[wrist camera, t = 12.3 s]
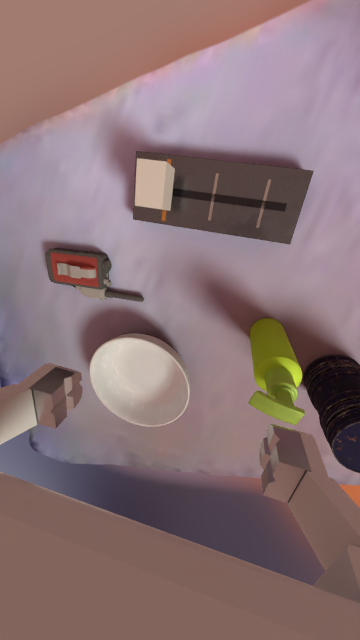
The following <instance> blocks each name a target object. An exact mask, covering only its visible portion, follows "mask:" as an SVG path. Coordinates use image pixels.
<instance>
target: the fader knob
mask: <svg viewBox="0 0 360 640" xmlns="http://www.w3.org/2000/svg"><path fill="white" fill-rule="evenodd" d="M174 173H175V168H173V167H172V166H171V165H170V164H169V163H168V162H166V161H157V160H148V159H140V158H137V168H136V189H135V206H141V207H148V208H155V209H161V210H168V211H170V210H171V201H172V192H173V182H174Z"/></svg>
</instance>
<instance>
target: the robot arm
mask: <svg viewBox="0 0 360 640" xmlns="http://www.w3.org/2000/svg"><path fill="white" fill-rule="evenodd" d="M81 380H82V377H81V373H80V372H78V371H75V370H72V369H68V368H65V367H62V366H57V365H54V364H51V363H48V364H45V365H44V366H42V367H41V368H39V369H38V370H37V371H35V372H34V373H33V374H31V375H30V376H29V377H27V378H26V379H24V380H23V381H22V382H20V383H19V384H18V385H15V384H13V385H9V386H6V387H3V388H0V444H2V443H4V442H6V441H8V440H9V439H11V438H13V437H15V436H17V435H19V434H21V433H23V432H24V431H26V430H28V429H30V428H32V427H34V426H36V425H37V423H38V424H41V425H45V426H48V427H52V428H55V429H56V428H57V427H58V426H59V425H60V424H61V423H62V421H63V420H64V419H65V418H66V417H67V411H69V410H71V409H74V408H75V407H76V405H77V404H78V403H79V401H80V399H81V396H82V386H81V385H80V383H79V382H80V381H81ZM260 465H261V466H262V468H263V469H264V471H263V473H262V476H261V478H262V488H263V495H265V496H268V497H271V498H274V499H276V500H279V501H282V502H285V503H288V507H289V508H290V510H291V511H292V513H293V515H294V517H295V519H296V520H297V522H298V524H299V526H300V528H301V529H302V531H303V533H304V535H305V536H306V538H307V540H308V542H309V543H310V545H311V547H312V548H313V550H314V552H315V554H316V555H317V557H318V559H319V561H320V562H321V564H322V566H323V568H324V570H325V571H326V572H325V573H324V574H323V575H322V576H321V578H320V579H319V580H318V581H317V582H316V584H314V586H311V585H308V584H306V583H303V582H300V581H297V580H294V579H292V578H289V577H286V576H284V575H281V574H278V573H276V572H273V571H270V570H267V569H265V568H262V567H259V566H256V565H254V564H251V563H248V562H245V561H243V560H240V559H237V558H235V557H232V556H229V555H226V554H224V553H221V552H218V551H215V550H213V549H210V548H207V547H204V546H202V545H199V544H196V543H194V542H191V541H188V540H185V539H183V538H180V537H177V536H175V535H172V534H169V533H166V532H164V531H161V530H158V529H156V528H153V527H150V526H147V525H145V524H142V523H139V522H136V521H134V520H131V519H128V518H126V517H123V516H120V515H117V514H115V513H112V512H109V511H106V510H104V509H101V508H98V507H95V506H92V505H90V504H87V503H84V502H82V501H79V500H76V499H74V498H71V497H68V496H65V495H63V494H60V493H57V492H54V491H51V490H49V489H46V488H43V487H40V486H38V485H35V484H32V483H30V482H27V481H24V480H21V479H19V478H16V477H13V476H11V475H7V474H5V473H2V472H0V640H360V508H359V507H358V506H357V505H356V504H355V502H354V501H353V500H352V499H351V498H350V497H349V496H348V495H347V494H346V492H345V491H344V490H343V489H342V488H341V487H340V486H339V485H338V484H337V482H336V481H335V480H334V479H332V478H329V477H328V474H327V471H326V469H325V466H324V463H323V460H322V458H321V455H320V452H319V449H318V447H317V444H316V441H315V439H314V437H313V436H312V435H311V434H307V433H303V432H299V431H295V430H291V429H288V428H284V427H280V426H276V425H273V424H270V425H269V426H268V429H267V437H266V438H264V439H263V441H262V444H261V448H260Z"/></svg>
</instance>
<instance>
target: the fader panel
mask: <svg viewBox="0 0 360 640" xmlns="http://www.w3.org/2000/svg"><path fill="white" fill-rule="evenodd" d="M137 158H140V159H148V160H157V161H166V162H168V163H169V164H170V165H171V166H172V167H173V168H175V173H174V182H173V192H172V201H171V210H170V211H168V210H161V209H155V208H148V207H141V206H135V190H134V212H133V219H134V220H140V221H147V222H153V223H159V224H165V225H172V226H178V227H184V228H191V229H197V230H203V231H209V232H216V233H222V234H228V235H235V236H241V237H247V238H253V239H260V240H266V241H272V242H279V243H285V244H290V243H291V239H292V236H293V233H294V230H295V227H296V224H297V221H298V218H299V215H300V211H301V208H302V205H303V202H304V199H305V196H306V193H307V190H308V186H309V183H310V180H311V177H312V174H313V171H311V170H302V169H293V168H284V167H275V166H266V165H257V164H248V163H239V162H230V161H221V160H212V159H203V158H194V157H185V156H176V155H167V154H158V153H149V152H140V151H136V168H137ZM135 189H136V169H135Z"/></svg>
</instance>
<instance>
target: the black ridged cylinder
mask: <svg viewBox="0 0 360 640" xmlns="http://www.w3.org/2000/svg"><path fill="white" fill-rule="evenodd" d="M303 378H304V384H305V386H306V388H307V393H308V395H309V398H310V400H311V402H312V404H313V406H314V407H315V409H316V410H317V411H318V414H319V419H320V425H321V427H322V429H323V432H324V435H325V437H326V439H327V441H328V443H329V445H330V447H331V449H332V452H333V454H334V456H335V458H336V459H337V461H338V462H339V463H340V464H341V465H343V466H344V467H346V468H347V469H349V470H351V471H354V472H357V473H360V365H359V364H358V363H357V362H356V361H355V360H353V359H351V358H349V357H347V356H343V355H327V356H323V357H320V358H318V359H316V360H315V361H313V362H312V363H311V364H309V366H308V367H307V368H306V370H305V372H304V376H303Z"/></svg>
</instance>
